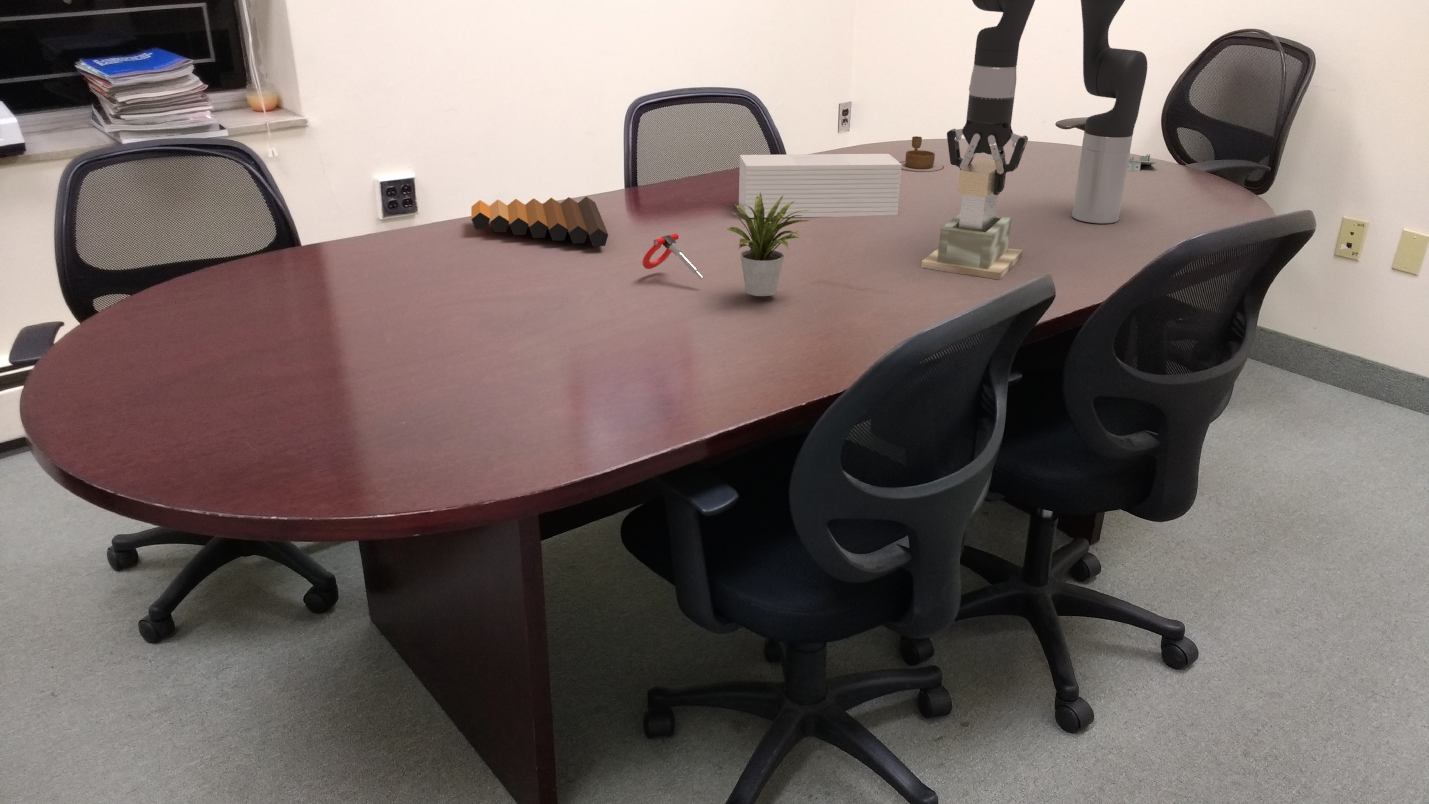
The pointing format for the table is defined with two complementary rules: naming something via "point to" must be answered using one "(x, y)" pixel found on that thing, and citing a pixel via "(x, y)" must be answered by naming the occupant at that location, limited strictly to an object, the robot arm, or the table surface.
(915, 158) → the place setting
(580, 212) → the pan flute
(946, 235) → the grey open box
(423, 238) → the table surface
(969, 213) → the two-tone square post
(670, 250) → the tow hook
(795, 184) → the stack of papers
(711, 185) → the table surface
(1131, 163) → the metal bracket
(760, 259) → the house plant
